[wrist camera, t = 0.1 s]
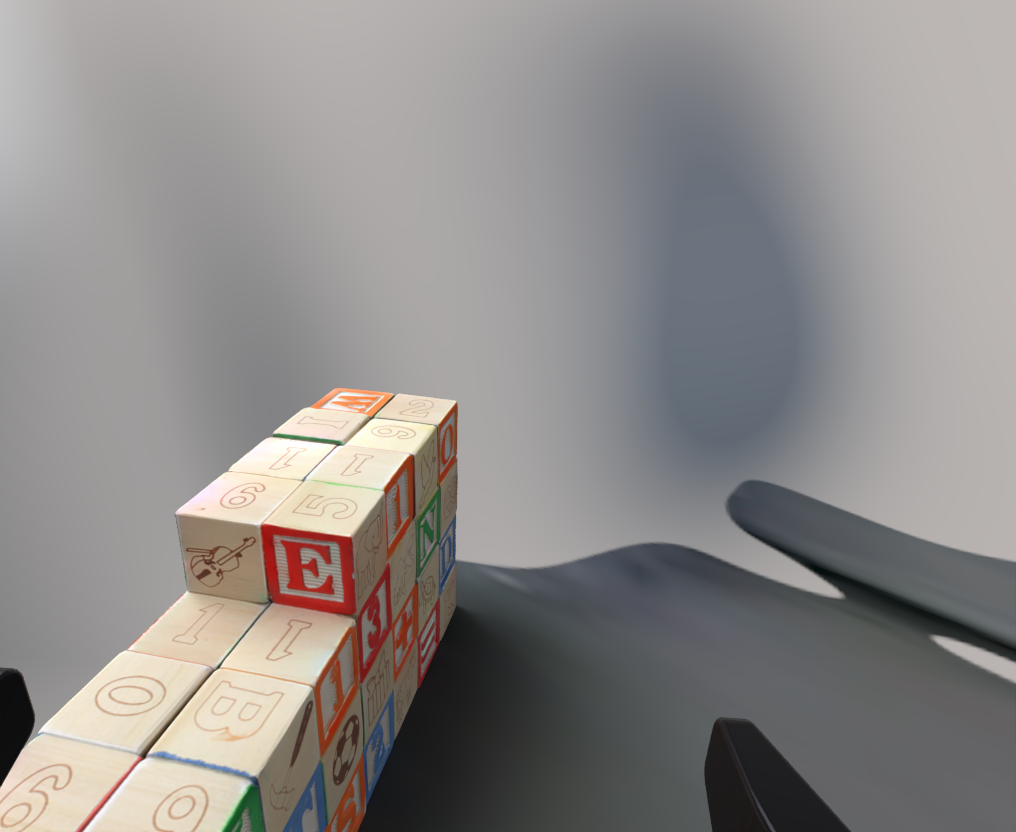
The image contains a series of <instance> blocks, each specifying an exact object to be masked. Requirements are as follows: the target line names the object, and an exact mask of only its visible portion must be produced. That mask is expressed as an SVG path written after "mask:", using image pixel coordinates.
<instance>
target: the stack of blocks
mask: <svg viewBox="0 0 1016 832" xmlns="http://www.w3.org/2000/svg"><path fill="white" fill-rule="evenodd" d="M457 410H458V407H457V401H454V400H445V399H438V398H429V397H421V396H413V395H406V394H398V395H396V396H394V394H391V393H385V392H374V391H365V390H355V389H344V388H336V389H334V390H333V391H331V392H330V393H329V394H327V395H326V396H325V397H324V398H322V399H321V400H319V401H318V402H317V403H315V404H314V405H313V406H312V407H310V408H304V409H302V410H301V411H300V412H299V413H297V414H296V415H295V416H293V417H292V418H291V419H289V420H288V421H287V422H286V423H285V424H283V425H282V426H281V427H279V428H278V429H277V430H276V431H275V432H274V433H273V437H272V438H267V439H265V440H264V441H263V442H261V443H260V444H258V445H257V446H256V447H255V448H254V449H253V450H251V451H250V452H248V453H247V454H246V455H245V456H244V457H243V458H242V459H240V460H239V461H238V462H236V463H235V464H234V465H232V466H231V467H230V469H229V472H226V473H224V474H222V475H221V476H220V477H219V478H217V479H216V480H215V481H214V482H213V483H211V484H210V485H209V486H207V487H206V488H205V489H204V490H202V491H201V492H200V493H199V494H197V495H196V496H195V497H193V498H192V499H191V500H190V501H189V502H187V503H186V504H185V505H184V506H182V507H181V508H180V509H178V510H177V511H176V513H175V517H176V522H177V528H178V534H179V541H180V547H181V552H182V559H183V565H184V572H185V579H186V585H187V591H186V592H185V593H184V594H183V595H182V596H181V597H180V598H179V599H178V600H177V601H176V602H175V603H174V604H173V605H172V606H171V607H170V608H169V609H168V610H167V611H166V612H165V613H164V614H163V615H162V616H160V617H159V619H157V620H156V621H155V622H154V623H153V624H152V625H151V626H150V627H149V628H148V629H147V630H146V631H145V632H144V633H143V634H142V635H141V636H140V637H139V638H138V639H137V640H136V641H135V642H134V643H133V644H132V645H131V646H130V647H129V648H128V649H127V650H126V651H124V652H122V653H120V654H119V655H117V656H116V657H115V658H114V659H113V660H112V661H111V662H110V663H109V664H108V665H107V666H106V667H105V668H104V669H103V670H102V671H101V672H100V673H99V674H97V675H96V676H95V677H94V678H93V679H92V680H91V681H90V682H89V683H88V684H87V685H86V686H85V687H84V688H83V689H82V690H81V691H80V692H79V693H78V694H77V695H75V696H74V697H73V698H72V699H71V700H70V701H69V702H68V703H67V704H66V705H65V706H64V707H63V708H62V709H61V710H60V711H59V712H58V713H57V714H56V715H54V716H53V717H52V718H51V719H50V720H49V721H48V722H47V723H46V724H45V725H44V726H43V727H42V728H41V730H40V731H39V732H38V737H36V738H35V739H34V740H32V741H31V742H30V743H29V744H28V745H27V746H26V747H24V748H23V749H22V751H21V753H20V755H19V756H18V758H17V760H16V762H15V763H14V765H13V767H12V769H11V770H10V772H9V774H8V776H7V777H6V779H5V781H4V783H3V784H2V786H1V788H0V832H357V831H358V829H359V826H360V824H361V822H362V820H363V818H364V815H365V813H366V805H367V803H368V801H369V799H370V797H371V795H372V792H373V790H374V787H375V785H376V783H377V781H378V778H379V776H380V774H381V772H382V769H383V767H384V765H385V763H386V760H387V758H388V756H389V754H390V751H391V749H392V747H393V742H394V740H395V738H396V736H397V734H398V732H399V730H400V727H401V725H402V723H403V721H404V718H405V716H406V714H407V712H408V709H409V707H410V705H411V702H412V700H413V698H414V695H415V693H416V690H417V689H418V688H419V687H420V685H421V683H422V681H423V679H424V676H425V674H426V672H427V670H428V667H429V665H430V663H431V661H432V658H433V656H434V654H435V652H436V649H437V647H438V645H439V642H440V641H441V639H442V637H443V635H444V632H445V630H446V628H447V626H448V624H449V621H450V619H451V617H452V614H453V612H454V610H455V608H456V561H455V551H456V549H455V547H456V545H455V529H456V509H457V478H458V476H457V458H456V454H457V415H458V414H457V413H458V411H457Z"/></svg>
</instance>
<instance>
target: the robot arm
mask: <svg viewBox="0 0 1016 832" xmlns="http://www.w3.org/2000/svg"><path fill="white" fill-rule="evenodd" d="M34 722H35V713H34V710H33V706H32V703H31V700H30V696H29V693H28V690H27V687H26V684H25V681H24V677H23V675H22V674H21V673H20V672H19V671H18V670H17V669H13V668H0V788H1V786H2V784H3V783H4V781H5V779H6V777H7V776H8V774H9V772H10V770H11V769H12V767H13V765H14V763H15V762H16V760H17V758H18V756H19V755H20V753H21V751H22V749H23V748H24V746H25V744H26V742H27V741H28V739H29V737H30V735H31V732H32V730H33V727H34ZM705 785H706V792H707V799H708V805H709V812H710V818H711V825H712V832H851V831H850V830H849V829H848V828H847V826H846V825H845V824H844V823H843V822H842V821H841V820H840V819H839V818H838V816H837V815H836V814H835V813H834V812H833V811H832V810H831V809H830V808H829V806H828V805H827V804H826V803H825V802H824V801H823V800H822V799H821V798H820V797H819V795H818V794H817V793H816V792H815V791H814V790H813V789H812V788H811V787H810V785H809V784H808V783H807V782H806V781H805V780H804V779H803V778H802V777H801V776H800V774H799V773H798V772H797V771H796V770H795V769H794V768H793V767H792V766H791V764H790V763H789V762H788V761H787V760H786V759H785V758H784V757H783V756H782V754H781V753H780V752H779V751H778V750H777V749H776V748H775V747H774V746H773V745H772V743H771V742H770V741H769V740H768V739H767V738H766V737H765V736H764V735H763V733H762V732H761V731H760V730H759V729H758V728H757V727H756V726H755V725H754V724H753V723H752V722H751V721H749V720H747V719H738V718H724V717H721V718H718V719H717V720H716V721H715V723H714V726H713V730H712V734H711V738H710V743H709V747H708V752H707V756H706V761H705Z"/></svg>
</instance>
